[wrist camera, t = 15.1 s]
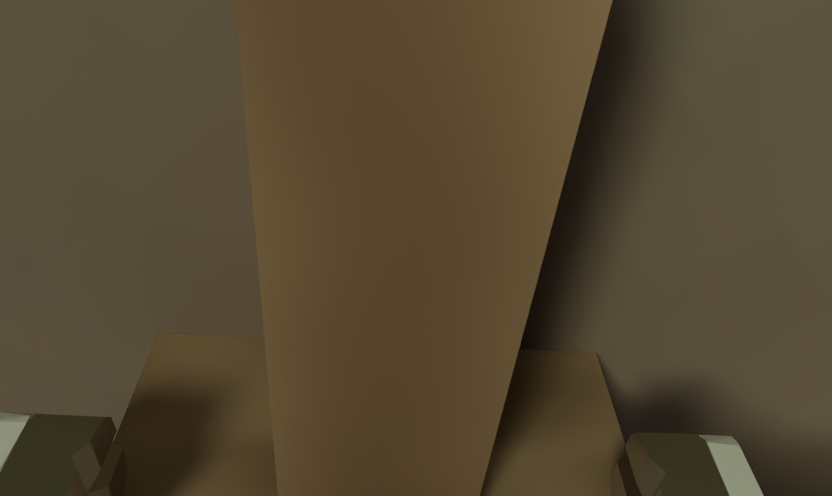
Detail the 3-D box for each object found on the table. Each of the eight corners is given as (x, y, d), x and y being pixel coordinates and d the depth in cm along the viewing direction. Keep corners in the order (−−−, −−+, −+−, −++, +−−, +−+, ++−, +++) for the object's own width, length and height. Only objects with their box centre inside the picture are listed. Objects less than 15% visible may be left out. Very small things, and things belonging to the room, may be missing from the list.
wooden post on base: (817, -244, 7) (1280, -217, 4) (585, 374, 14) (657, 620, 10) (4, -334, 7) (-521, -420, 3) (164, 357, 14) (69, 610, 10)
